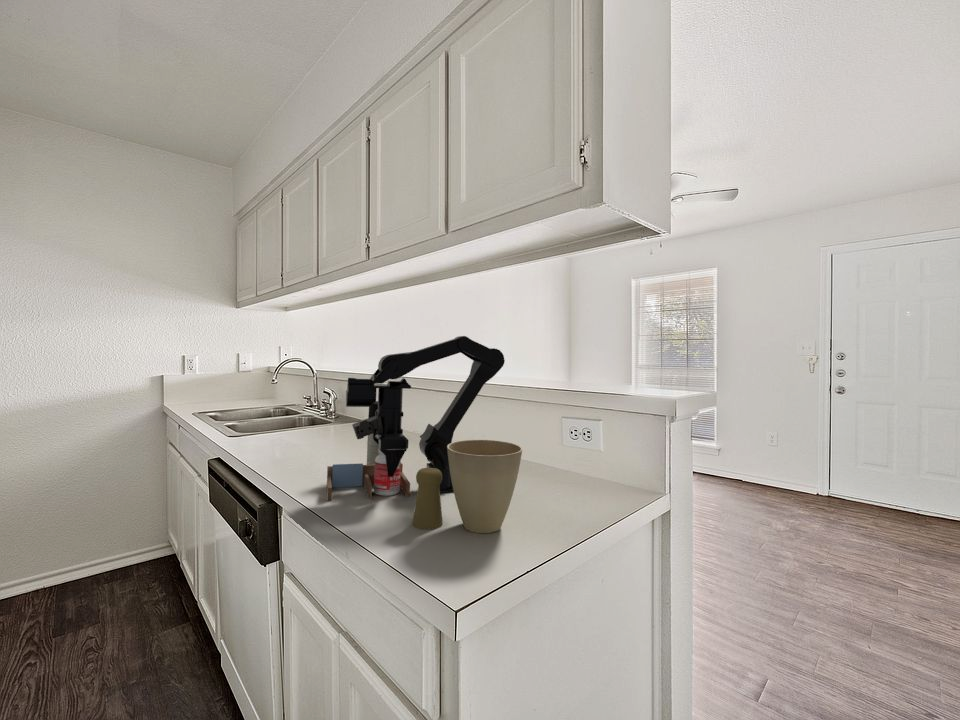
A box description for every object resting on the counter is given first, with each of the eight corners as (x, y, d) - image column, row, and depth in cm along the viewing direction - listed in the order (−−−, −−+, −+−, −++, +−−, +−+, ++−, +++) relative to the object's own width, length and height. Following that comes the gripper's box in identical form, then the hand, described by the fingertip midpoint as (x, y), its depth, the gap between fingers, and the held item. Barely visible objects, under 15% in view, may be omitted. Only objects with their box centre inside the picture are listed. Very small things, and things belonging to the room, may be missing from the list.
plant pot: (459, 509, 101) (462, 436, 100) (526, 519, 96) (529, 443, 96) (431, 534, 87) (435, 449, 86) (508, 547, 82) (512, 458, 82)
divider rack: (401, 482, 120) (402, 461, 120) (409, 496, 109) (410, 472, 109) (326, 486, 114) (327, 463, 113) (327, 501, 103) (328, 476, 103)
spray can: (396, 474, 127) (398, 402, 127) (378, 479, 121) (381, 404, 121) (378, 470, 131) (381, 400, 130) (360, 475, 125) (363, 401, 125)
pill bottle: (391, 497, 107) (393, 450, 107) (368, 494, 109) (370, 447, 109) (404, 490, 113) (405, 445, 113) (381, 487, 115) (383, 443, 115)
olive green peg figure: (437, 531, 88) (439, 473, 88) (407, 527, 89) (409, 471, 89) (446, 520, 94) (448, 466, 94) (418, 516, 95) (420, 463, 95)
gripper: (352, 402, 117) (350, 463, 117) (358, 412, 99) (356, 484, 99) (396, 402, 120) (394, 462, 121) (410, 411, 103) (407, 481, 103)
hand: (387, 471), depth 111 cm, fingers open, 9 cm apart
